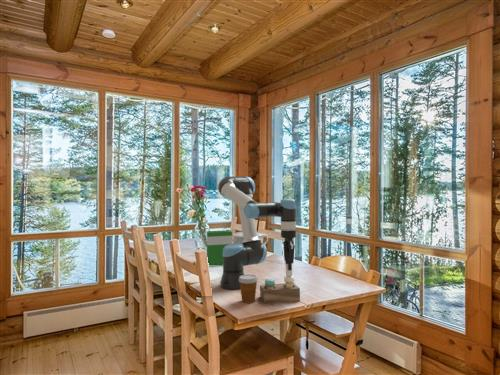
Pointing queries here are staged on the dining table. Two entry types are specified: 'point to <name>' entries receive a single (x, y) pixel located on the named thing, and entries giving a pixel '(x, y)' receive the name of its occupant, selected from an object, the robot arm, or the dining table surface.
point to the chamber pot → (240, 238)
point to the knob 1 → (269, 283)
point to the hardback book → (217, 245)
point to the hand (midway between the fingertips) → (289, 276)
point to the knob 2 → (289, 281)
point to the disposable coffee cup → (248, 287)
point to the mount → (280, 293)
